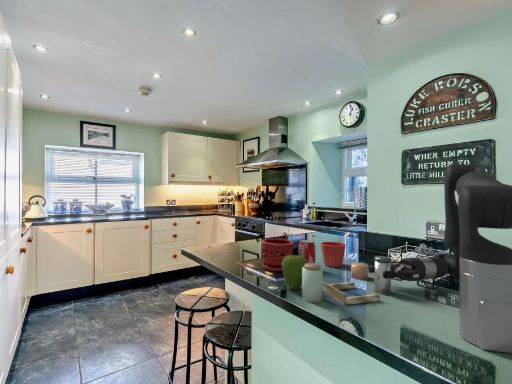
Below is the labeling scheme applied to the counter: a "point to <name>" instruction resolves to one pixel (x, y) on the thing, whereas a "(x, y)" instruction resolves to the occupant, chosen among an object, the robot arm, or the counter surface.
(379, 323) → the counter surface
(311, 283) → the sage jar
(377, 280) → the steel canister
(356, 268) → the terracotta tin
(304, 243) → the soda can
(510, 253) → the robot arm
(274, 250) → the plant pot
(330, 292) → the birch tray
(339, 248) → the flower pot
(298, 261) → the green bell pepper
